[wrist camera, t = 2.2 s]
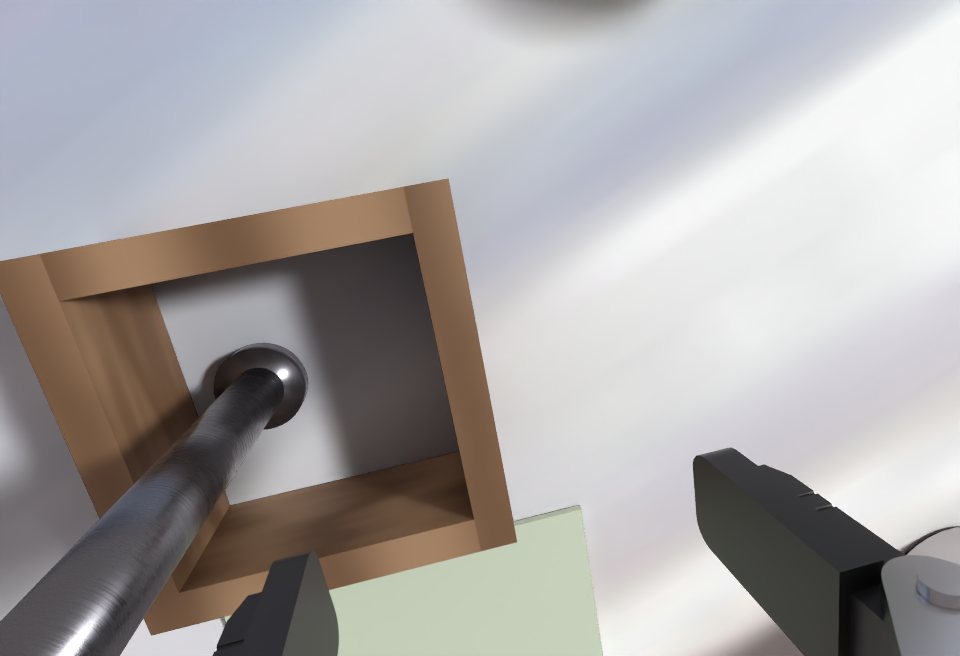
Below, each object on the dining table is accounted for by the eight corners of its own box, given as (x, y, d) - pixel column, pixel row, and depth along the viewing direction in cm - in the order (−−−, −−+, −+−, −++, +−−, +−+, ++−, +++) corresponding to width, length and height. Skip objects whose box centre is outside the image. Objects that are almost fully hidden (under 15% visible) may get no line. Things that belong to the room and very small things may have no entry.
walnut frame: (438, 184, 23) (448, 178, 18) (493, 470, 27) (517, 542, 22) (96, 247, 22) (-13, 263, 16) (207, 539, 26) (151, 635, 20)
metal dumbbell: (295, 335, 24) (-51, 745, 6) (317, 410, 25) (81, 958, 7) (210, 353, 24) (-444, 849, 5) (235, 428, 25) (-242, 1058, 7)
